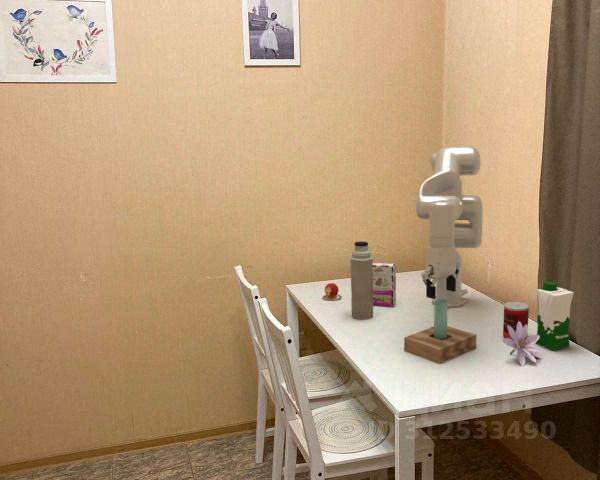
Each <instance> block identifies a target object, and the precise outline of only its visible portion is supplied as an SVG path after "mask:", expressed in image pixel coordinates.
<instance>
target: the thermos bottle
mask: <svg viewBox="0 0 600 480" xmlns="http://www.w3.org/2000/svg"><path fill="white" fill-rule="evenodd" d="M373 258H374V257H373V256H372V253H371V250H370V249H369V242H368V241H355V242H354V250H353V251H352V254H351V257H350V288H351V289H350V290H351V298H350V299H351V300H350V301H351V318H352V319H355V320H358V321H359V320H362V321H363V320H365V321H366V320H370V319H373V317H374V306H373V262H374V260H373Z"/></svg>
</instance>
